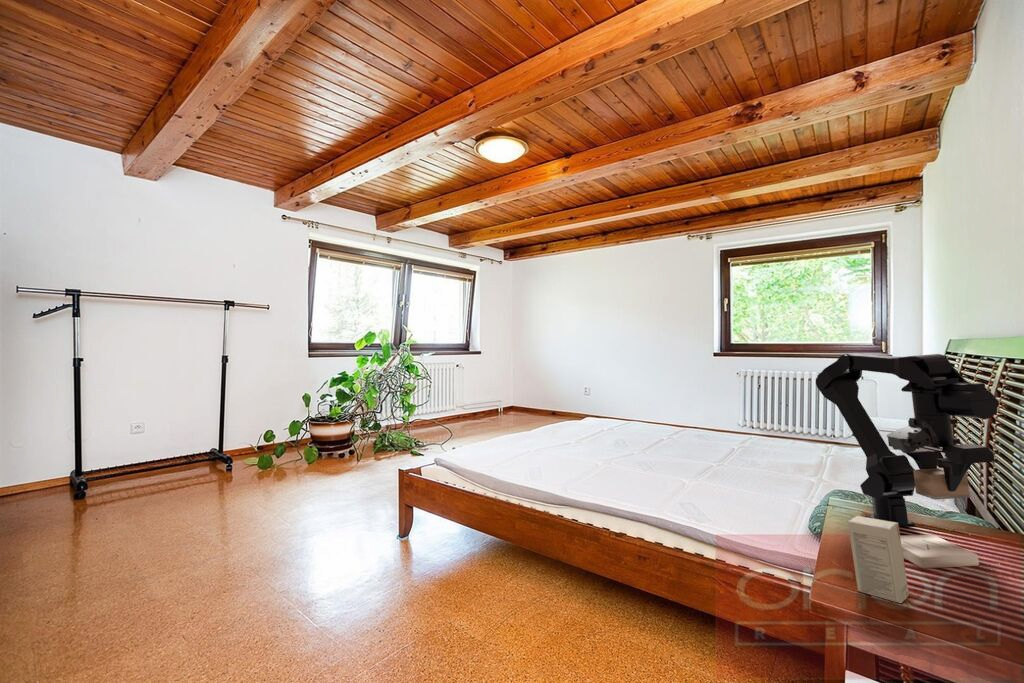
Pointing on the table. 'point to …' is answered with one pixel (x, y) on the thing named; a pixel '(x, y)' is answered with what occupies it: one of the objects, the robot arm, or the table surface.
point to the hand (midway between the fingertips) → (941, 487)
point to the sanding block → (938, 485)
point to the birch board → (935, 552)
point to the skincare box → (878, 558)
